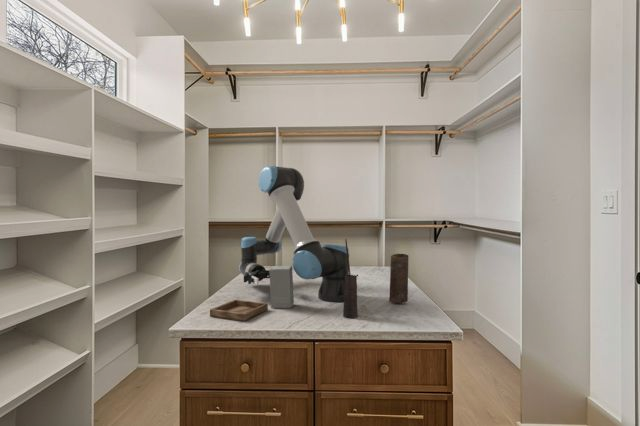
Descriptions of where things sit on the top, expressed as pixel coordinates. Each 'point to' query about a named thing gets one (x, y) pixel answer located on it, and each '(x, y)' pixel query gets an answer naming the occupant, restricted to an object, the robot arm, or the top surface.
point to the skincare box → (281, 287)
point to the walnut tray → (239, 310)
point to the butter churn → (350, 293)
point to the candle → (399, 278)
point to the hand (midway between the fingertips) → (273, 280)
